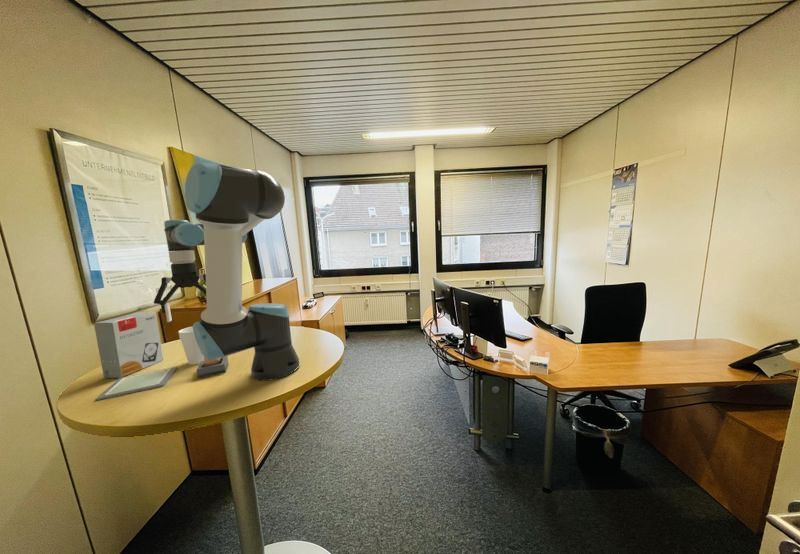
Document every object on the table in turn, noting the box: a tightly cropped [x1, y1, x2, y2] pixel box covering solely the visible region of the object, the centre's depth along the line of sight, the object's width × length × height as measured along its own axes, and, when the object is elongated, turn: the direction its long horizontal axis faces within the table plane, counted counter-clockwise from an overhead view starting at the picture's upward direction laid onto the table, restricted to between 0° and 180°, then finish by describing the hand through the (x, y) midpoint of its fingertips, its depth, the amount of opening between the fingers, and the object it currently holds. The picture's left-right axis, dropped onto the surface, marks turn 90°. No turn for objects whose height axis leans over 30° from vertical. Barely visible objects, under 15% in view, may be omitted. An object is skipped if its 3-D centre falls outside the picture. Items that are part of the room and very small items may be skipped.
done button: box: [204, 357, 221, 367], centre depth 98 cm, size 5×5×3 cm
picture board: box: [94, 366, 178, 401], centre depth 93 cm, size 15×16×1 cm
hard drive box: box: [93, 311, 164, 379], centre depth 104 cm, size 16×8×20 cm, turn 171°
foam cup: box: [178, 325, 204, 366], centre depth 108 cm, size 10×9×13 cm
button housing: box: [196, 356, 229, 379], centre depth 99 cm, size 8×8×3 cm
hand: (191, 318), depth 107 cm, fingers open, 13 cm apart
